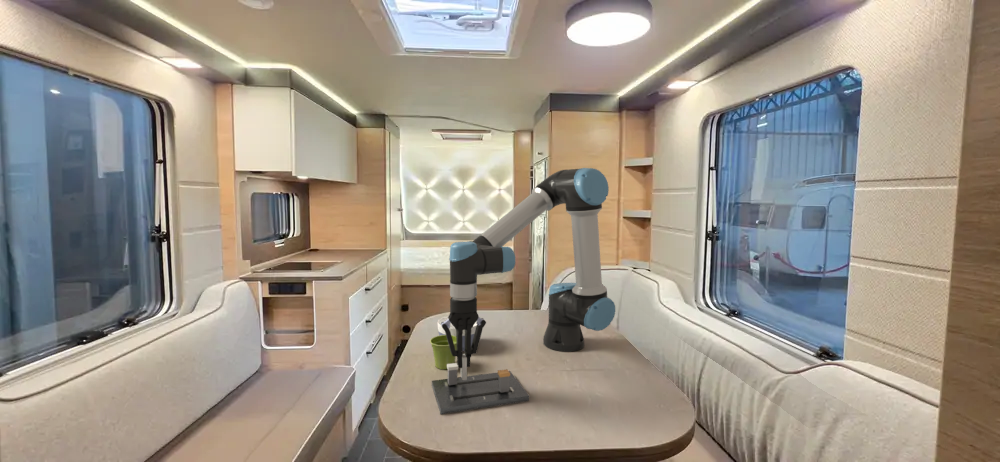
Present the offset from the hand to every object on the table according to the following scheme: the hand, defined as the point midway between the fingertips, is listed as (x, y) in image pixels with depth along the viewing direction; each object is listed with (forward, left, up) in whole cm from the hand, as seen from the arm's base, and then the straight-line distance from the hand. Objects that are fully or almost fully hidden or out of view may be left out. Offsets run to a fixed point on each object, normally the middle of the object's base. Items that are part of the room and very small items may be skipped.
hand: (463, 377), depth 115 cm
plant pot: (+3, -17, -3) cm, 17 cm away
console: (-3, +4, -3) cm, 6 cm away
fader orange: (-9, +8, -1) cm, 12 cm away
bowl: (-5, -32, -3) cm, 32 cm away
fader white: (+3, 0, -1) cm, 3 cm away
